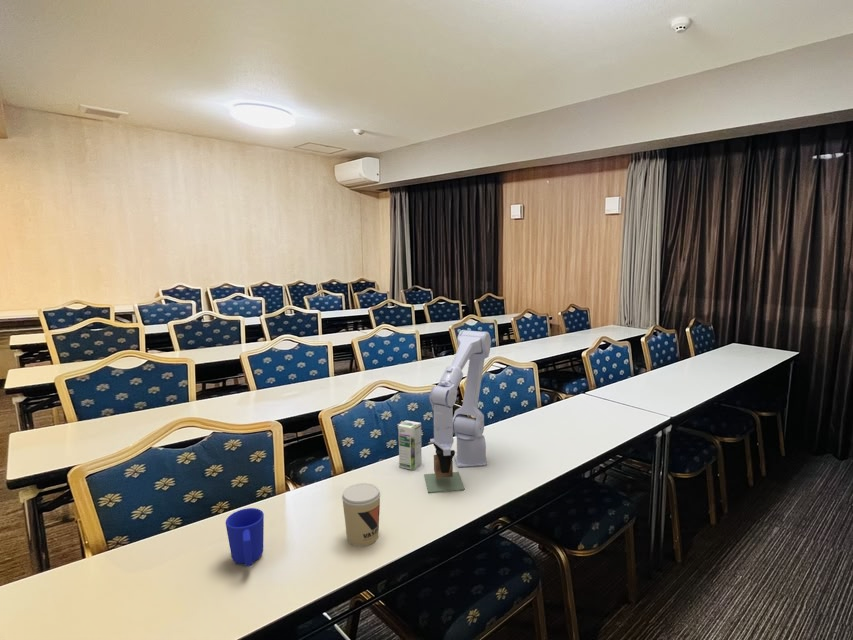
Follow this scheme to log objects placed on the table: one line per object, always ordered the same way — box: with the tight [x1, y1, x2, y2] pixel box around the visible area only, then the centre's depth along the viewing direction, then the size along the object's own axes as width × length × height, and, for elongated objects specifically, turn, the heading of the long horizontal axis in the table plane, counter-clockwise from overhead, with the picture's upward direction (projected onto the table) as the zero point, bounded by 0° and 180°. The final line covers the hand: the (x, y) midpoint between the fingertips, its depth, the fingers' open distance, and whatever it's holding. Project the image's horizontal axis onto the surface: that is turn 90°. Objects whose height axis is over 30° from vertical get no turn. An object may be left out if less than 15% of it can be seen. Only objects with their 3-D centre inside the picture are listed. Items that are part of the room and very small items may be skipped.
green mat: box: [423, 471, 466, 494], centre depth 142 cm, size 11×11×1 cm
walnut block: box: [433, 454, 454, 478], centre depth 141 cm, size 5×5×5 cm
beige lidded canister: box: [341, 482, 381, 547], centre depth 115 cm, size 9×9×12 cm
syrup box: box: [397, 420, 423, 471], centre depth 152 cm, size 6×6×14 cm
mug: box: [225, 507, 265, 567], centre depth 106 cm, size 8×12×10 cm
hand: (443, 468), depth 141 cm, fingers closed on walnut block, 5 cm apart
